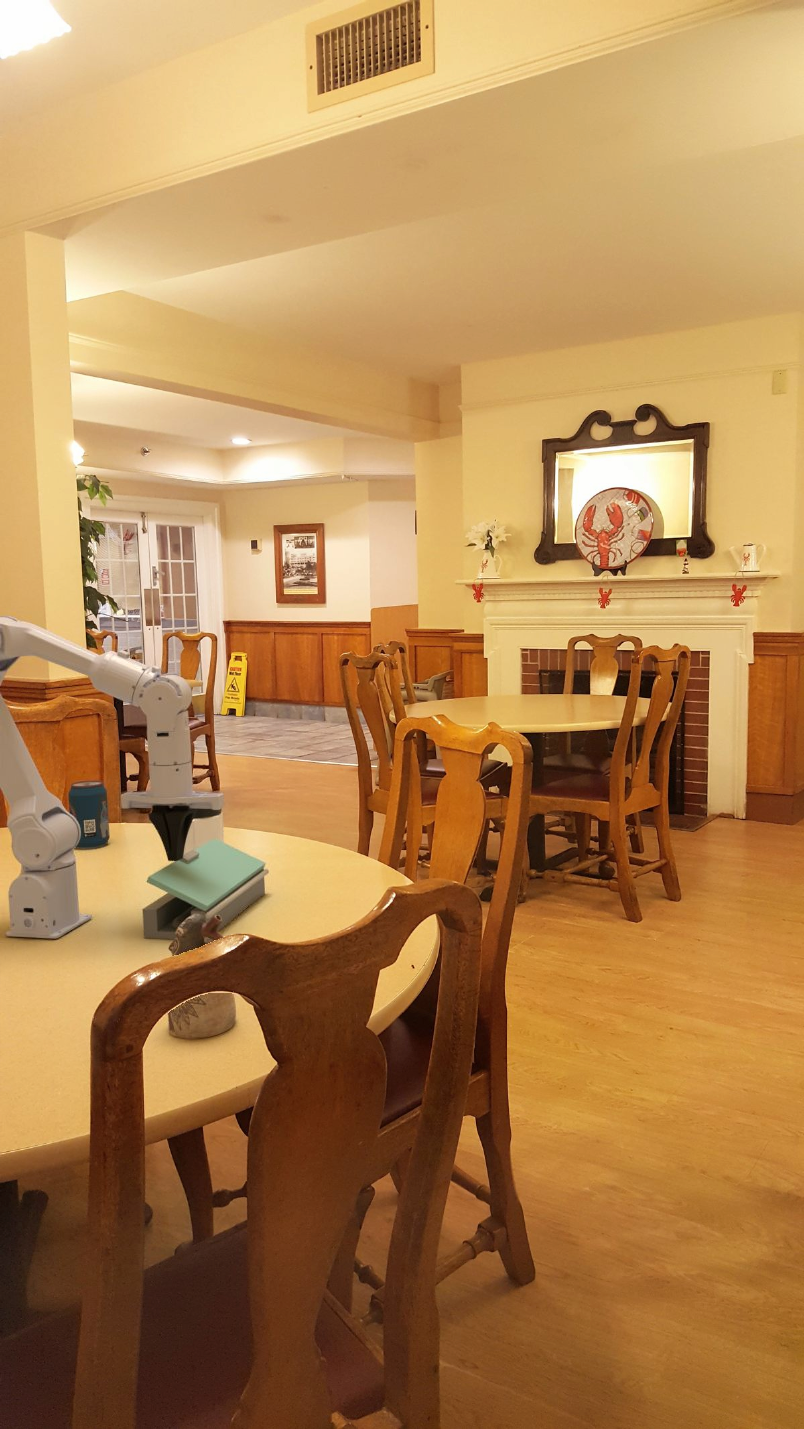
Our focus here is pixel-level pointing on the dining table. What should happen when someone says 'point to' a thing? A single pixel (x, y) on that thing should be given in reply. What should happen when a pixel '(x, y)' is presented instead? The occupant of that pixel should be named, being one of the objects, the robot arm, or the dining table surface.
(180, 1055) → the dining table surface
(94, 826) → the soda can
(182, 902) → the cable duct
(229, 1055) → the dining table surface
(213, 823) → the jar
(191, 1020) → the figurine
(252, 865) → the duct lid
